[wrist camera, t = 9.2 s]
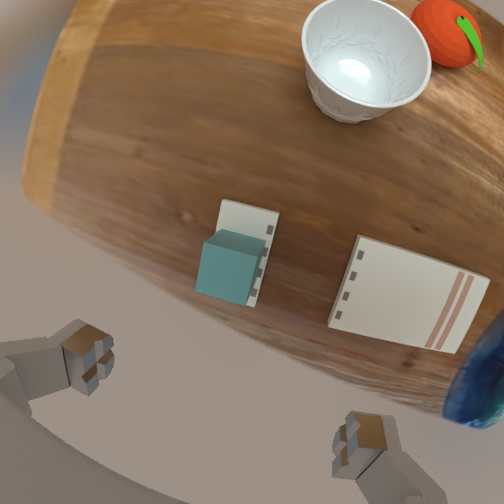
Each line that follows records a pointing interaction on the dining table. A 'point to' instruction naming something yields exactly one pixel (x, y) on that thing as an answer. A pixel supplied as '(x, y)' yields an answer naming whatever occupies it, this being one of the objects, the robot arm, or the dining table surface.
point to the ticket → (406, 297)
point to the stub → (237, 253)
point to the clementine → (449, 32)
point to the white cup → (363, 59)
